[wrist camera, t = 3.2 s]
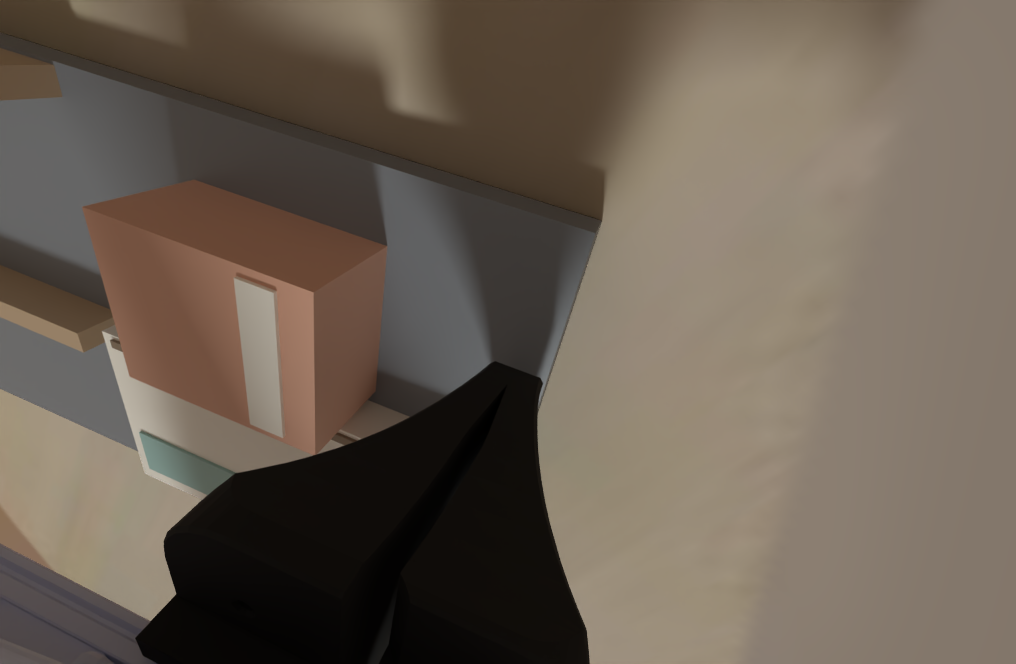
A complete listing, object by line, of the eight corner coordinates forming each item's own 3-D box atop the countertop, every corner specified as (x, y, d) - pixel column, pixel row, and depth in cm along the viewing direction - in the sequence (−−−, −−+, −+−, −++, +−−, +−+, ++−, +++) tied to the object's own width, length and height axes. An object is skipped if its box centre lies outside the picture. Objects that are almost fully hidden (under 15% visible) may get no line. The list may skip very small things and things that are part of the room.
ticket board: (481, 580, 20) (457, 643, 18) (0, 366, 24) (-68, 396, 22) (602, 221, 11) (583, 258, 9) (-182, -25, 15) (-323, -39, 13)
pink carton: (375, 391, 15) (312, 458, 12) (215, 327, 16) (126, 378, 13) (387, 246, 12) (310, 294, 10) (194, 179, 13) (77, 207, 11)
